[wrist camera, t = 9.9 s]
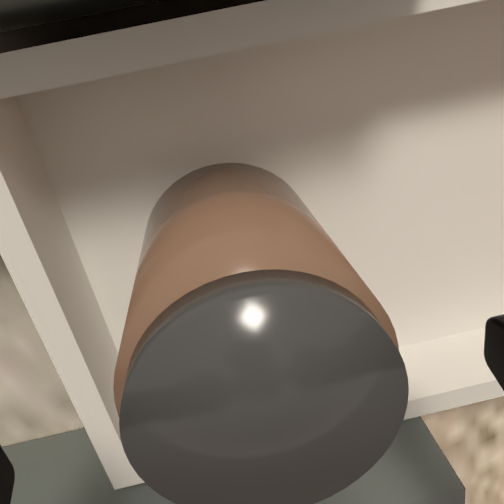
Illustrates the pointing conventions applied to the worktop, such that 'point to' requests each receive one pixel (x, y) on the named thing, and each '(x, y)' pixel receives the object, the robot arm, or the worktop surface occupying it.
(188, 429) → the spice jar
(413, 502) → the dock
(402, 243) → the tray
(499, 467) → the worktop surface
